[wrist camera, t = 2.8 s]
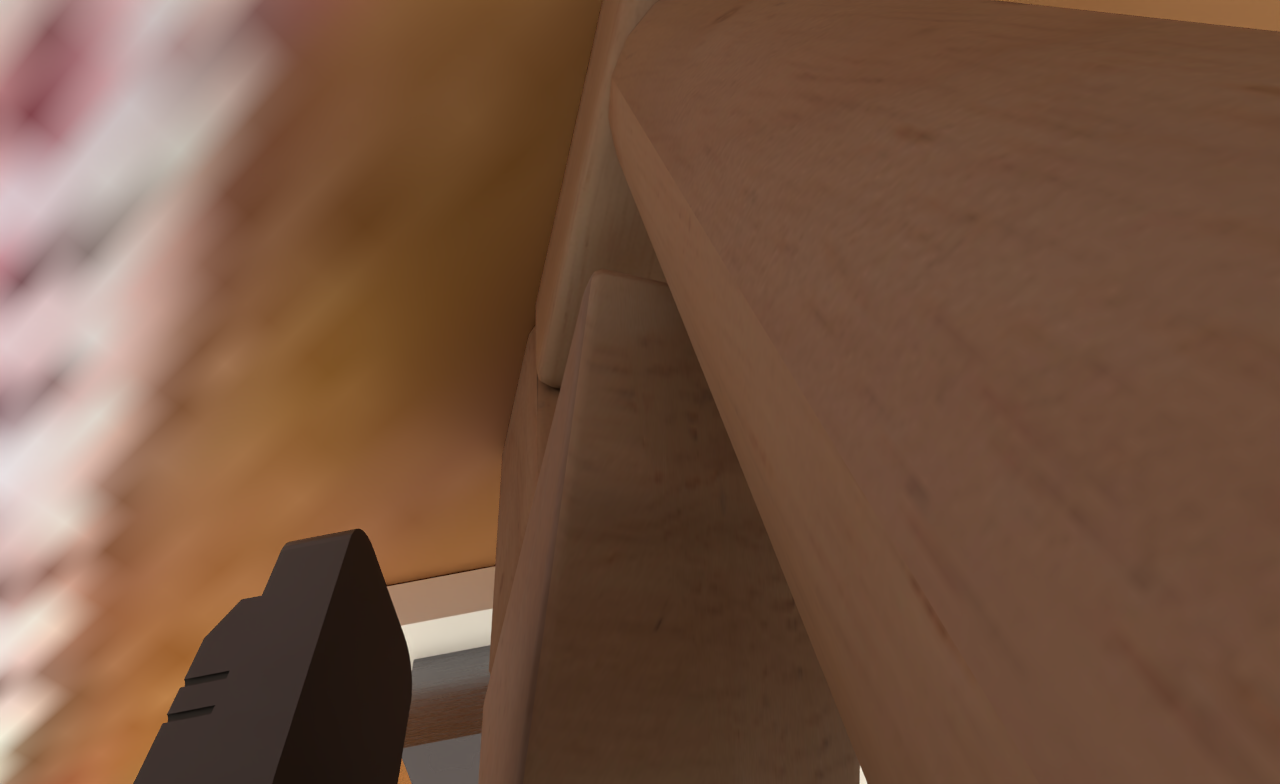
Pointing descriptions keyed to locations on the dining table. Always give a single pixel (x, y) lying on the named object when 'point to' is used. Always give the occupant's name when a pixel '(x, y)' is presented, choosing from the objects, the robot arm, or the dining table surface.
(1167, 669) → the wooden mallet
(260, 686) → the robot arm
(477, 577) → the slotted base
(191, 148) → the dining table surface
